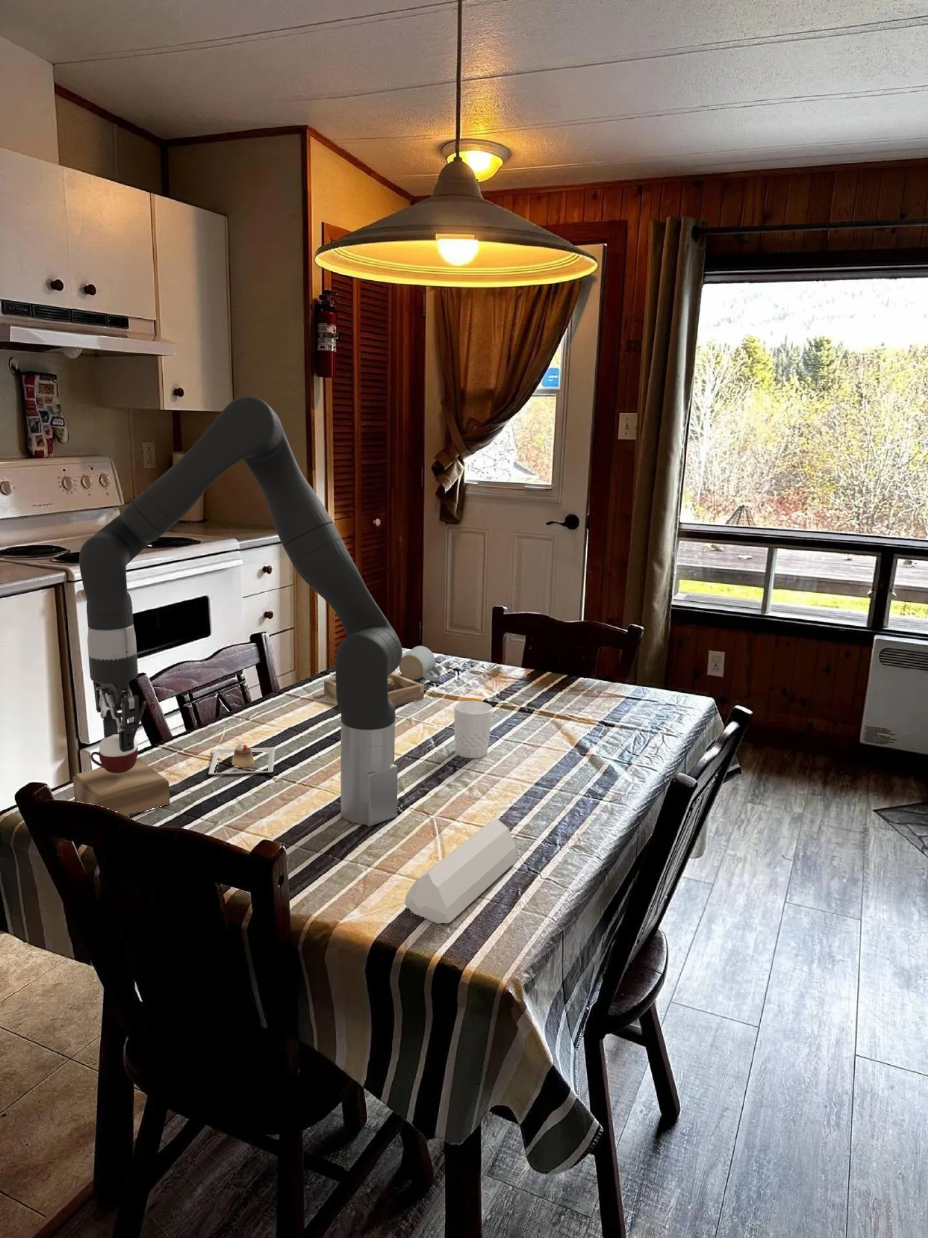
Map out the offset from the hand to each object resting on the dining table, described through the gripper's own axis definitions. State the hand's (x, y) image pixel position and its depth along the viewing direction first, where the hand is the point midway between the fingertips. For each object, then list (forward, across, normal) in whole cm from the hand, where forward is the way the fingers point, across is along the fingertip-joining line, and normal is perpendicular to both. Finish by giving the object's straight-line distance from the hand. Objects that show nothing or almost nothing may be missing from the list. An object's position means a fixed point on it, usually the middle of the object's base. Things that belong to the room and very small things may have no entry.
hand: (119, 744), depth 145 cm
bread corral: (+11, +18, -69) cm, 72 cm away
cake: (+12, +20, -72) cm, 75 cm away
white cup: (+11, -22, -64) cm, 69 cm away
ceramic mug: (+11, +23, -88) cm, 92 cm away
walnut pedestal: (+11, 0, 0) cm, 11 cm away
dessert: (+12, +2, -25) cm, 27 cm away
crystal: (+12, -58, -28) cm, 65 cm away
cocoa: (+5, 0, 0) cm, 5 cm away
